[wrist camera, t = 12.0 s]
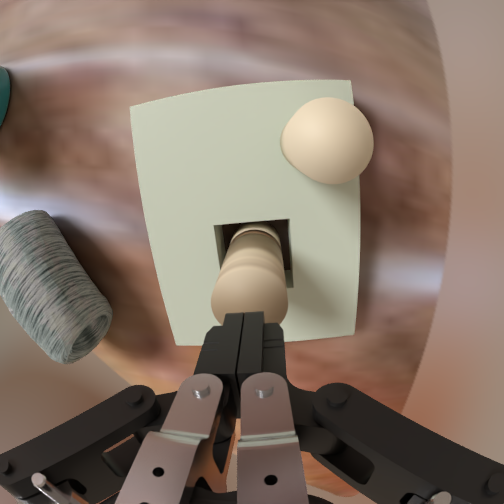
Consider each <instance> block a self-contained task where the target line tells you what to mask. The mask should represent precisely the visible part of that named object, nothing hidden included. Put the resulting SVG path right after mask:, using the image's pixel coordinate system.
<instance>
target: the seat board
mask: <svg viewBox="0 0 504 504" xmlns="http://www.w3.org/2000/svg"><path fill="white" fill-rule="evenodd" d="M130 116H131V126H132V136H133V144H134V152H135V160H136V167H137V174H138V181H139V187H140V193H141V199H142V205H143V210H144V216H145V221H146V226H147V231H148V236H149V241H150V246H151V250H152V255H153V259H154V264H155V268H156V272H157V276H158V280H159V284H160V288H161V292H162V296H163V300H164V304H165V307H166V311H167V315H168V318H169V322H170V325H171V329H172V332H173V335H174V339H175V342H176V345H203V344H204V343H203V342H204V339H205V336H206V333H207V332H208V331H209V330H210V329H211V328H212V327H213V326H222V325H221V324H220V323H219V322H218V321H217V320H216V318H215V316H214V314H213V312H212V308H211V296H212V292H213V289H214V287H215V284H216V281H217V278H218V276H219V273H220V270H221V267H222V265H223V262H224V259H225V256H226V250H225V243H224V236H223V229H222V224H233V223H244V222H255V221H267V220H279V219H287V222H288V237H289V252H290V269H291V270H284V273H285V281H286V289H287V297H288V311H287V314H286V316H285V318H284V320H283V321H282V323H281V324H280V326H281V327H282V329H283V332H284V342H289V341H301V340H312V339H321V338H330V337H339V336H347V335H354V333H355V323H356V312H357V299H358V284H359V263H360V179H359V175H360V174H361V173H362V172H363V171H364V169H365V168H366V167H367V165H368V163H369V162H370V159H371V157H372V153H373V146H374V142H373V134H372V130H371V127H370V125H369V123H368V121H367V119H366V118H365V116H364V115H363V114H362V113H361V112H360V110H358V109H357V108H356V107H355V106H354V102H353V94H352V87H351V80H294V81H276V82H263V83H252V84H243V85H235V86H227V87H220V88H214V89H208V90H202V91H196V92H191V93H186V94H181V95H176V96H171V97H167V98H163V99H158V100H154V101H150V102H146V103H143V104H139V105H135V106H132V107H130Z"/></svg>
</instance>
